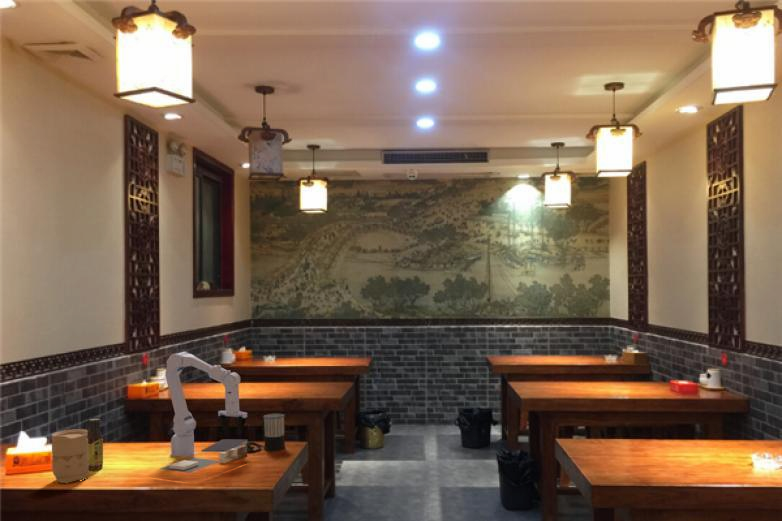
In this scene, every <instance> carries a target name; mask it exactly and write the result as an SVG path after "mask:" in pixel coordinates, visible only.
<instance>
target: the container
mask: <svg viewBox="0 0 782 521" xmlns="http://www.w3.org/2000/svg"><path fill="white" fill-rule="evenodd" d="M87 435H88V430H87V429H82V428H81V429H80V428H77V429H73V428H72V429H65V430H60V431H56V432H53V433H52V434H51V441H52V442H51V455H52V457H51V465H52V467H51V468H52V474H53V476H54V478H55V479H56V481H57V483H59V482H60V483H59V484H63V483H69V482H71V483H73V482H77V481H79V480H83V479H85V478H87V479H88V478H89V470H88V439H87ZM76 480H77V481H76Z"/></svg>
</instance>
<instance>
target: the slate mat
mask: <svg viewBox="0 0 782 521" xmlns="http://www.w3.org/2000/svg"><path fill="white" fill-rule="evenodd" d="M186 460H187V461H196V462H199V465H198V466H196V467H193V468H190V469H187V470H177V469H170V468H169V465H166V466H162V467H161V468H160V467H159V469H160V470H165V471H166V470H167V471H175V472H183V473H192V472H196V471H198V470H201V469H204V468H207V467H210V466H212V465H215V464H217V463H220V460H215V459H207V458H198V457H191V458H188V459H186Z"/></svg>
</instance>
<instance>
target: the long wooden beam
mask: <svg viewBox="0 0 782 521" xmlns="http://www.w3.org/2000/svg"><path fill="white" fill-rule="evenodd" d="M245 445H246V444H245ZM245 445H244V444H242V445H240V446H238V447H235V448H232V449H229V450H227V451H224V452H218V454H219V460H218V461H220V462H219V463H220V464H226V463H228V462H229V463H230V462H232V461H234V460H237V459H239V458H242V457H245V456H248V451H247V446H245Z"/></svg>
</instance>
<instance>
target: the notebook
mask: <svg viewBox="0 0 782 521" xmlns="http://www.w3.org/2000/svg"><path fill="white" fill-rule="evenodd" d="M247 443H248V439H244V438H243V439H234V438H233V439H231V438H229V439H226V438H225V439H220V440H219V441H216V442H214V443H213V444H211V445H209V446H207V447H205V448H203V449H201V450H200V451H201V452H216V453H221V452H224V451H227V450H229V449H232V448H235V447H238V446H241V445H244V444H245V445H246V444H247Z"/></svg>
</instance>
